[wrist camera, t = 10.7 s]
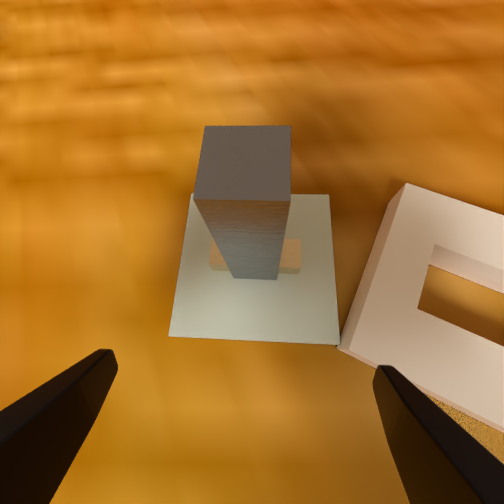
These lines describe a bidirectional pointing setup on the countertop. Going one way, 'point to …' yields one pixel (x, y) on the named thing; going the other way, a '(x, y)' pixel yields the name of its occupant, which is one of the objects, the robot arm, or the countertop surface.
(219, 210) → the t key
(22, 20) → the countertop surface
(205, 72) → the countertop surface
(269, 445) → the countertop surface
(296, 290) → the key mat
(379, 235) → the cover plate
